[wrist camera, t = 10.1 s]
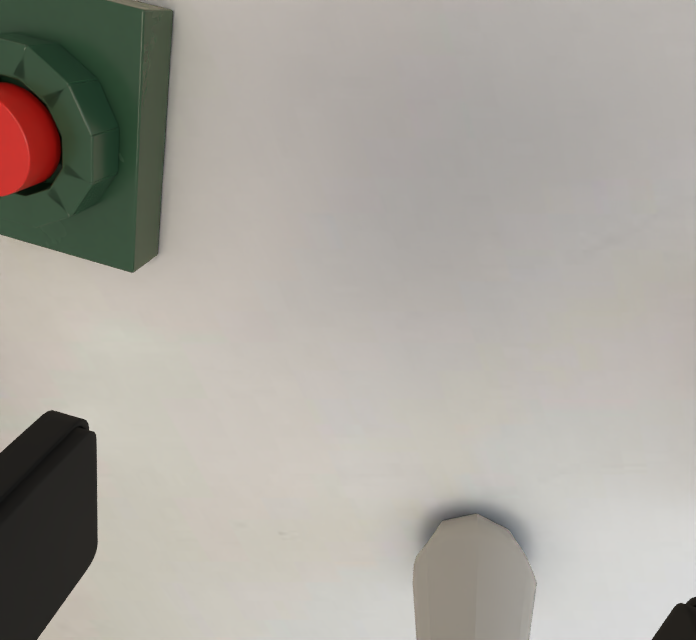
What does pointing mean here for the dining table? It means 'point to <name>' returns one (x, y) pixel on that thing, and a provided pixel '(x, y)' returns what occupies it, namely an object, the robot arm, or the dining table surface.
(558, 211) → the dining table surface
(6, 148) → the button
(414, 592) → the salt shaker
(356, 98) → the dining table surface
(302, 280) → the dining table surface
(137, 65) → the button box
